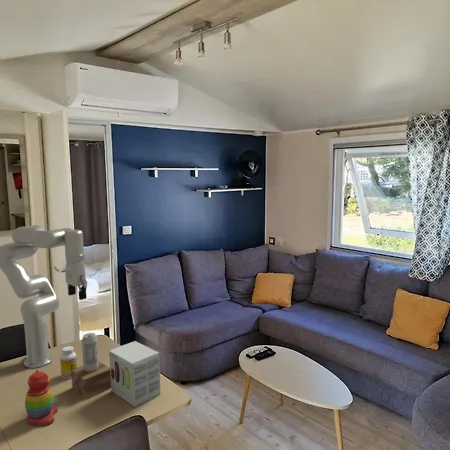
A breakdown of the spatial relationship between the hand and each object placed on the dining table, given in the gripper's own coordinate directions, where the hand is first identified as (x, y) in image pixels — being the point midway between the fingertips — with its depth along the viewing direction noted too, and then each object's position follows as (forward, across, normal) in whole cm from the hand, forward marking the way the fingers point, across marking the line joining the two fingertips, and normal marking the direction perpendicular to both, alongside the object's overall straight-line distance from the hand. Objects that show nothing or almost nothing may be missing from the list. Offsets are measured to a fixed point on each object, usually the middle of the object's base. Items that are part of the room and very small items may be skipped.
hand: (77, 297), depth 178 cm
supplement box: (+37, +30, +8) cm, 48 cm away
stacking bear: (+36, +19, -26) cm, 48 cm away
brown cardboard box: (+36, +13, -2) cm, 39 cm away
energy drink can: (+28, +13, -2) cm, 31 cm away
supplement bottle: (+36, -4, -4) cm, 37 cm away
